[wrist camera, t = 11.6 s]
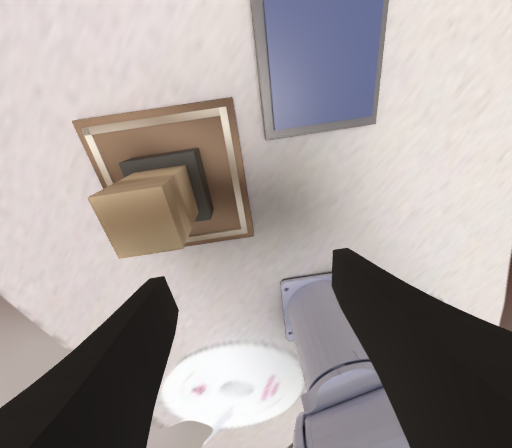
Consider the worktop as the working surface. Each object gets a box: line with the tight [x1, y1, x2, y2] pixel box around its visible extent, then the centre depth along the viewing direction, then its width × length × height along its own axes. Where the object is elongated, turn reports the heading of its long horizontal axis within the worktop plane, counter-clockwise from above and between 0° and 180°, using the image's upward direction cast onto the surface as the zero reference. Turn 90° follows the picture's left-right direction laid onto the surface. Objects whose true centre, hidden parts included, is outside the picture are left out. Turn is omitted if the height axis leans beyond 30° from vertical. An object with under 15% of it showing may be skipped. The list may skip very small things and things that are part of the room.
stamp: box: [88, 148, 214, 259], centre depth 14 cm, size 5×5×7 cm
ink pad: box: [251, 0, 389, 140], centre depth 14 cm, size 8×8×2 cm
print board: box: [72, 97, 254, 247], centre depth 17 cm, size 11×11×1 cm
